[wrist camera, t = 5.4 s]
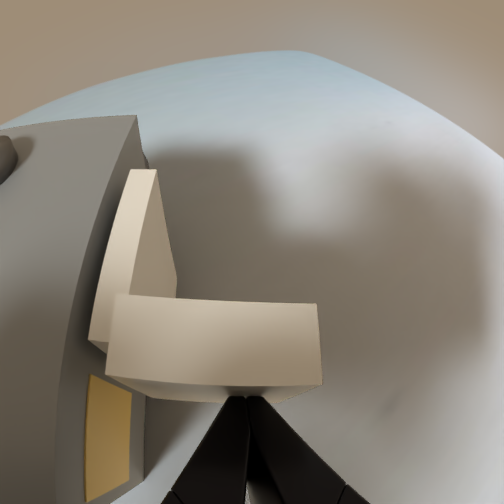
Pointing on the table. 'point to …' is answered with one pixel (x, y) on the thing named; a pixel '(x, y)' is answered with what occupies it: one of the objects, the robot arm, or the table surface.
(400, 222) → the table surface
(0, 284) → the block
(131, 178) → the cream l-shaped bracket
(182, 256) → the table surface
